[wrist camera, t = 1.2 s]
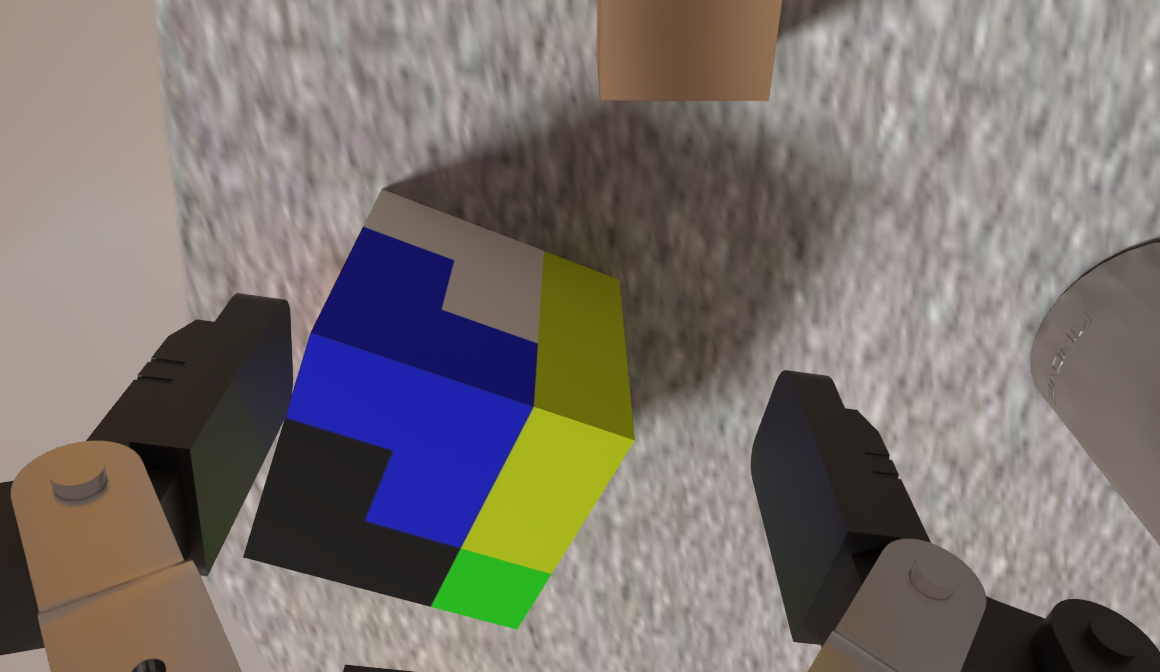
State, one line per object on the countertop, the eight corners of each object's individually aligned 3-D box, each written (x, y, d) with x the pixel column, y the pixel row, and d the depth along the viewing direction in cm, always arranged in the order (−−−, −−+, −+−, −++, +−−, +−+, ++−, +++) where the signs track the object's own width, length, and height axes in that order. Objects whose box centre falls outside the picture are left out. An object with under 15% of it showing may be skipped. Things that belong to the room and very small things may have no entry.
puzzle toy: (382, 188, 31) (310, 332, 22) (619, 278, 33) (634, 440, 25) (320, 380, 36) (243, 557, 27) (529, 448, 38) (517, 629, 30)
